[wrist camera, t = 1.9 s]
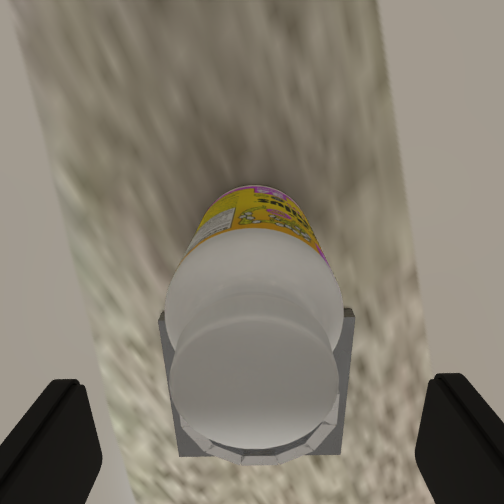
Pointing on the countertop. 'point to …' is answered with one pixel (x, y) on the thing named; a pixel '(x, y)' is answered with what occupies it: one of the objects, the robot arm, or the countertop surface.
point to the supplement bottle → (254, 323)
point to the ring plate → (343, 386)
